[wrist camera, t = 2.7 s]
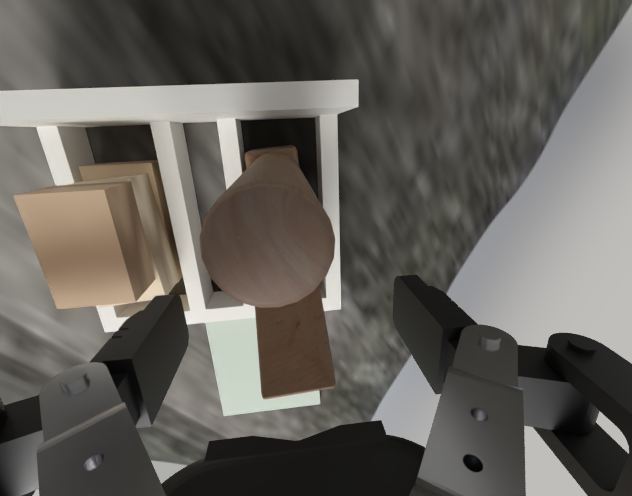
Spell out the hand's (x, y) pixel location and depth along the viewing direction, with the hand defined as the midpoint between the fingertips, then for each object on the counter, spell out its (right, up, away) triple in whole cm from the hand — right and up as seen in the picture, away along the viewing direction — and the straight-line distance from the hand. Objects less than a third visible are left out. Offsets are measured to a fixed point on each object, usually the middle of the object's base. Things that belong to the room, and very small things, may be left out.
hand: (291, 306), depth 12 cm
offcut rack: (-7, +5, +14) cm, 16 cm away
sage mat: (-4, -9, +19) cm, 21 cm away
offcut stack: (-13, +5, +13) cm, 19 cm away
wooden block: (-2, +5, +14) cm, 16 cm away
